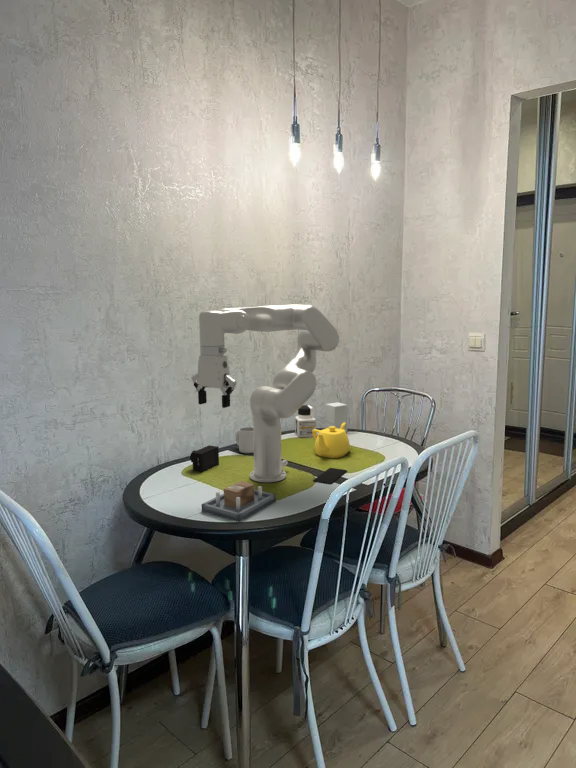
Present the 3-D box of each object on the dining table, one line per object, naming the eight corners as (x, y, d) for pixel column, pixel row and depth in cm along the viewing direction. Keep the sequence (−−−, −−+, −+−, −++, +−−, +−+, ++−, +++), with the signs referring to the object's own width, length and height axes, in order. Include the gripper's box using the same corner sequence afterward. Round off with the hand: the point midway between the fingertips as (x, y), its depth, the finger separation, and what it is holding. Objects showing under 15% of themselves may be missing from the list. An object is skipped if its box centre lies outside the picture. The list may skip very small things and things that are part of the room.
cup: (248, 454, 219) (248, 432, 218) (230, 450, 225) (229, 428, 224) (260, 450, 225) (260, 428, 223) (242, 446, 231) (242, 425, 229)
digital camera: (207, 462, 210) (206, 444, 209) (219, 464, 208) (218, 446, 206) (190, 470, 201) (189, 451, 200) (202, 472, 199) (201, 453, 197)
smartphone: (312, 480, 189) (329, 467, 202) (312, 482, 189) (329, 469, 202) (331, 483, 186) (347, 469, 199) (331, 485, 186) (347, 472, 199)
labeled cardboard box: (241, 496, 172) (241, 480, 172) (254, 499, 170) (254, 483, 169) (224, 504, 166) (223, 488, 165) (237, 508, 163) (236, 491, 162)
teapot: (325, 443, 234) (325, 418, 232) (359, 448, 226) (359, 422, 224) (297, 456, 216) (297, 429, 214) (332, 463, 208) (332, 435, 206)
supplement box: (347, 432, 251) (348, 404, 249) (334, 434, 248) (334, 406, 246) (338, 428, 258) (338, 401, 256) (325, 430, 254) (325, 403, 252)
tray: (239, 492, 179) (239, 476, 178) (275, 501, 172) (275, 485, 171) (201, 511, 164) (201, 494, 163) (239, 522, 157) (238, 504, 156)
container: (298, 437, 243) (298, 408, 241) (295, 433, 251) (294, 404, 249) (316, 436, 245) (316, 407, 243) (311, 432, 252) (311, 403, 250)
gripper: (242, 351, 171) (243, 406, 174) (199, 348, 180) (201, 400, 183) (226, 354, 165) (228, 410, 168) (183, 350, 174) (185, 404, 177)
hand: (214, 405), depth 176 cm, fingers open, 9 cm apart
